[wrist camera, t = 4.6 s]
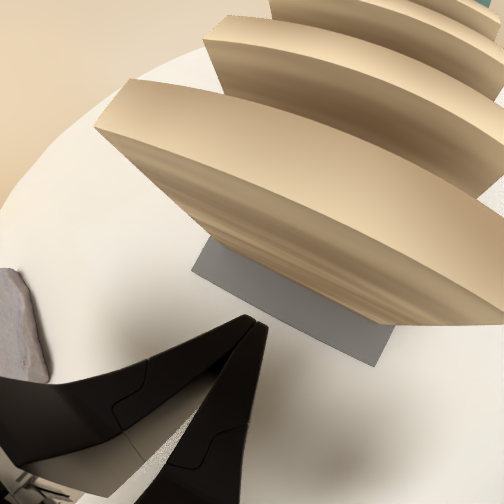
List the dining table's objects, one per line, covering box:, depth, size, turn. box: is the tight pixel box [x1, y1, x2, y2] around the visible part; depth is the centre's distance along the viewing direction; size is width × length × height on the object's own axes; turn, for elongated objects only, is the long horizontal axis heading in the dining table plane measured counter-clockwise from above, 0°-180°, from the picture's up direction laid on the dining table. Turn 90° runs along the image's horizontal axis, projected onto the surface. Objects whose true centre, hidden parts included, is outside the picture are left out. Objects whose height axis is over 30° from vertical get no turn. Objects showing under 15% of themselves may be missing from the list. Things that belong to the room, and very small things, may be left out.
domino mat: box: [191, 236, 395, 367], centre depth 17 cm, size 22×12×1 cm, turn 151°
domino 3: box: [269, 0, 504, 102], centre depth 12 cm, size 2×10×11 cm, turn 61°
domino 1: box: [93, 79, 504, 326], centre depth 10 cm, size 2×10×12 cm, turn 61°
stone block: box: [0, 268, 49, 384], centre depth 19 cm, size 12×5×10 cm
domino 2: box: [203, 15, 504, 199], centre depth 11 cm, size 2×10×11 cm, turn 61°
